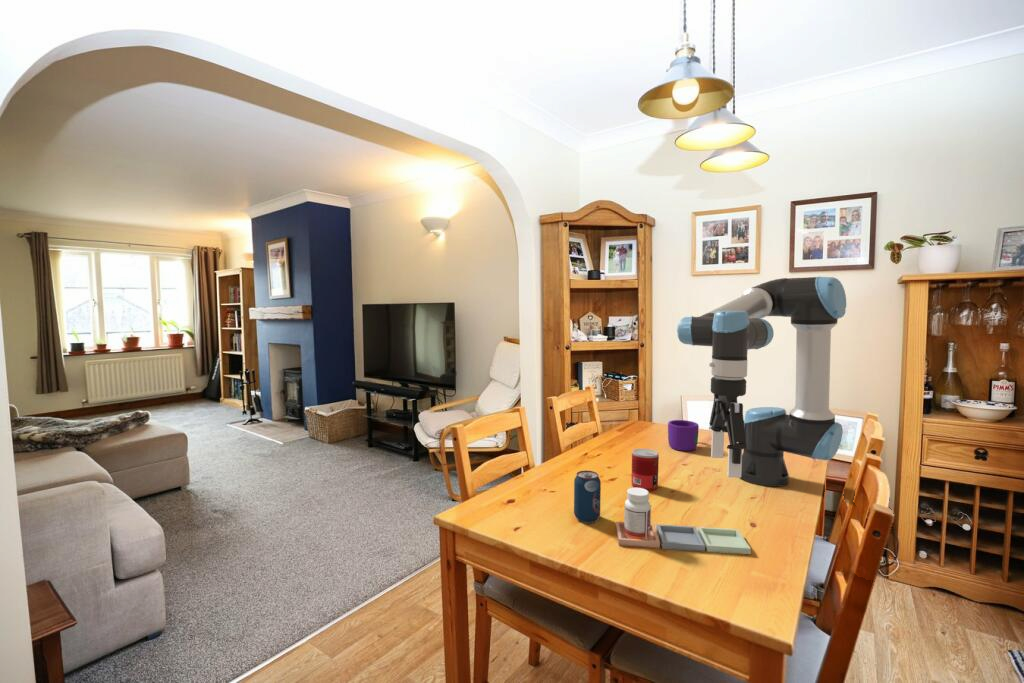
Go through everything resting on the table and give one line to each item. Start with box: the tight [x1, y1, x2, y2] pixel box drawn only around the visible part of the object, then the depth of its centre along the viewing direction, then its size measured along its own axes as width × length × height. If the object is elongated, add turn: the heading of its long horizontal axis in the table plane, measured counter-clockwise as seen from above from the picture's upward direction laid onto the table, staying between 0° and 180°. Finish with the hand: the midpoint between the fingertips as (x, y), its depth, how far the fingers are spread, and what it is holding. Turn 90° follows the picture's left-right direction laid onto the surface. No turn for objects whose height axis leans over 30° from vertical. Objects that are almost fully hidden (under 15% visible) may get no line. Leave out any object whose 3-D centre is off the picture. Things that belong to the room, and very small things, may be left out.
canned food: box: [631, 448, 660, 492], centre depth 150 cm, size 8×8×11 cm
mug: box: [667, 419, 700, 452], centre depth 193 cm, size 17×11×10 cm, turn 150°
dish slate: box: [655, 523, 706, 552], centre depth 117 cm, size 9×9×2 cm
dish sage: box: [697, 526, 752, 555], centre depth 115 cm, size 9×9×2 cm
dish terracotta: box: [615, 521, 661, 549], centre depth 118 cm, size 9×9×2 cm
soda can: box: [573, 470, 602, 524], centre depth 128 cm, size 7×7×12 cm
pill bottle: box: [623, 487, 652, 540], centre depth 118 cm, size 6×6×11 cm
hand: (725, 466), depth 114 cm, fingers open, 13 cm apart
